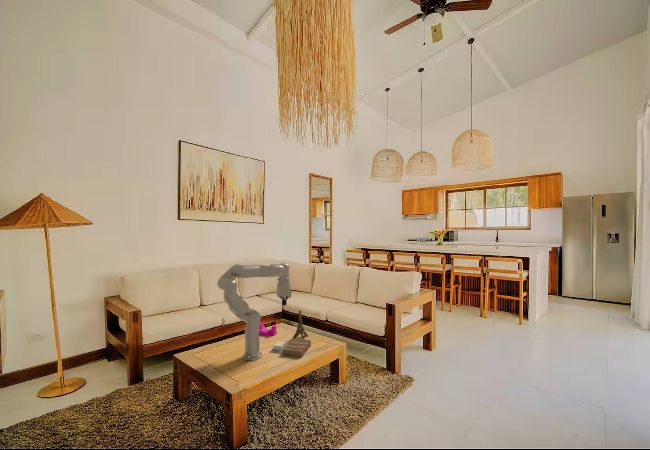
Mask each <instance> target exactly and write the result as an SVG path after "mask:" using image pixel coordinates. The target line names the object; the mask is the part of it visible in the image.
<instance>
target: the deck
mask: <svg viewBox="0 0 650 450" xmlns="http://www.w3.org/2000/svg"><path fill="white" fill-rule="evenodd" d="M292 338H293V337H292ZM292 338H291V339H290V341H289V342H288V343H286V344H287V345H286V346H285V347H284V348H283V354H282V356H284V357H285V356H287V357H295V358H303V357H304V356H305V354H306V353H307V352H308V350H309V349H310V348H311V346H312V340H311V339H306V338H305V339H301V338H296V339H295V338H293V339H292Z"/></svg>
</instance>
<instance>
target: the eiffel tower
mask: <svg viewBox="0 0 650 450" xmlns="http://www.w3.org/2000/svg"><path fill="white" fill-rule="evenodd" d="M295 331H296V332H295V333H294V334H293V336H292V338H291V340H292V339H293V338H295V339H297V336H300V339H305V340H306V337H307V338H308V337H309V334H308V333H307V332H306V331H305V329H304V324H303V318H302V310H298V323H297V328H296V330H295Z"/></svg>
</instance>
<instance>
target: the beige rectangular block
mask: <svg viewBox="0 0 650 450" xmlns="http://www.w3.org/2000/svg"><path fill="white" fill-rule="evenodd" d="M286 344H287V341H286V340H285V341H284V340H277V342H276V343H274V345H273V347H272V349H273V350H280V351H281V350H282V349H283V348H284V347H285V346H286Z"/></svg>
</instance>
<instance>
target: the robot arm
mask: <svg viewBox="0 0 650 450" xmlns="http://www.w3.org/2000/svg"><path fill="white" fill-rule="evenodd" d="M275 277H278V278H276V280H277V281H278V282H277V284H276V285H277V286H276V297H277V298H280V300H281V305H282V306H284V307H285V306H286V305H287V301H288V299H290V298H292V287H291V285H292V284H291V282H290V265H289V263H285V262H284V263H277V264H276V263H273V264H270V265H265V264H264V265H263V264H234V265H232V266H230V268H228V269H227V270H226V271H225V272H224V273H223V274H222V275H221V276H220V277H219V278H218V280H217V287H218V288H219V289H220V290H223V299H224V302H225V303H226V304H227V305H228V308H229V309H228V310H230V313H233V314H234V315H235V316H236V317H237V318H238V319H239V320H240V321H242V322H244V323H246V324H245V328H244V349H245V352H244V353H243V354H242V360H245V361H255V360H258V359H259V360H260V359H261V358H262V357H263V353H262V352H261V351H260V350H261V348H260V347H261V346H260V344H261V343H260V341H261V340H260V335H259V326H260V323H261V317H262V316H261V313H259V312H258V311H257V310H256V309H253V308H250V306H249V304H248V302H246V301H245V300H244V299H243V298H242V297H241V296H240V295H239V293H238V292H237V291H238V283H237V280H236V279H237V278H239V279H249V278H252V279H253V278H275Z"/></svg>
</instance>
